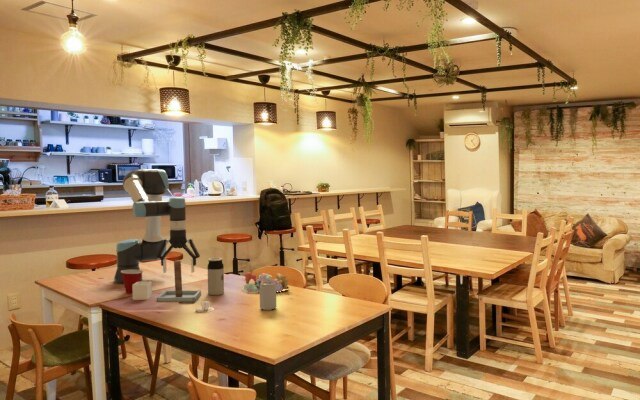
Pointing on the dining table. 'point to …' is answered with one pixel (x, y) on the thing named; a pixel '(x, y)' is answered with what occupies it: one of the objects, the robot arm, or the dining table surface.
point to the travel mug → (215, 276)
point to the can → (267, 295)
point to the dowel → (178, 278)
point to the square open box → (142, 290)
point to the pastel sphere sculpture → (255, 288)
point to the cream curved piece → (204, 307)
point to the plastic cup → (131, 279)
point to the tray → (187, 297)
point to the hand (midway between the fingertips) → (178, 272)
